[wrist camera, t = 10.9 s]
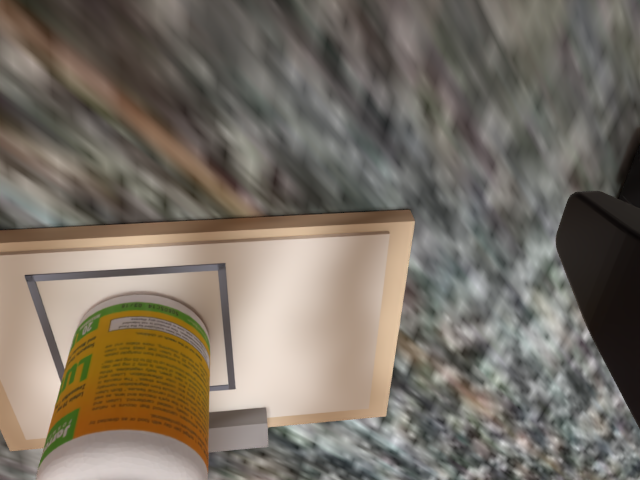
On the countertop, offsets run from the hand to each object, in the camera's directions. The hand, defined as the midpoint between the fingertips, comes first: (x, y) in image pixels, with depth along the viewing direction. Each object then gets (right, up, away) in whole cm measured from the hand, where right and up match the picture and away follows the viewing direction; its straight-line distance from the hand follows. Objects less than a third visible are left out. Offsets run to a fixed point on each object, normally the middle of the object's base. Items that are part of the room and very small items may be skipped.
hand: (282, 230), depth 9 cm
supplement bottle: (-7, -4, +16) cm, 18 cm away
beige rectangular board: (-5, -4, +18) cm, 19 cm away
